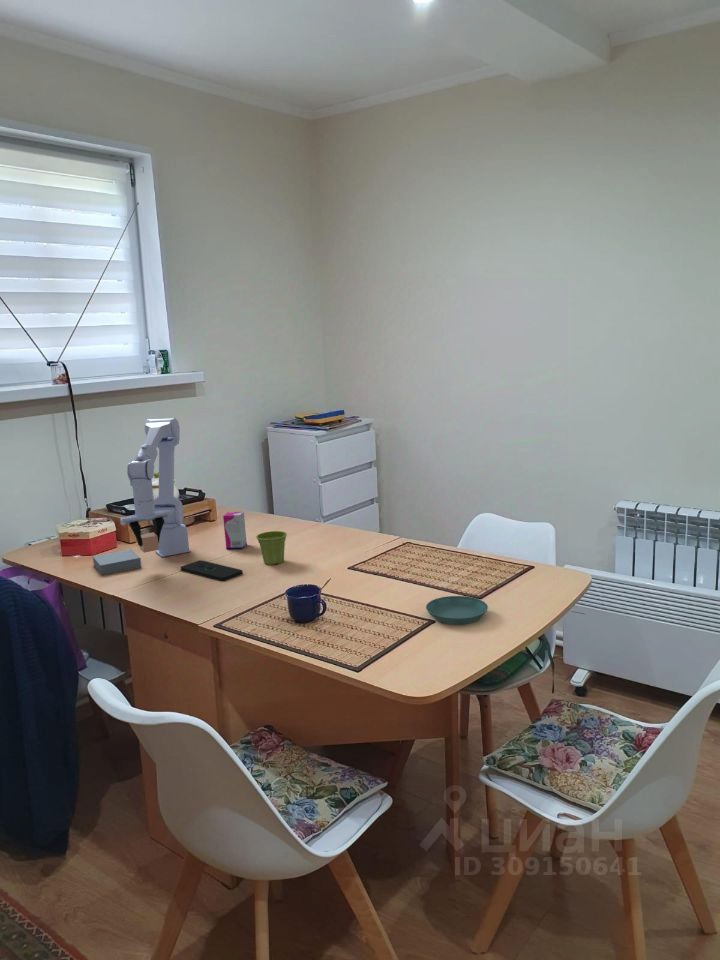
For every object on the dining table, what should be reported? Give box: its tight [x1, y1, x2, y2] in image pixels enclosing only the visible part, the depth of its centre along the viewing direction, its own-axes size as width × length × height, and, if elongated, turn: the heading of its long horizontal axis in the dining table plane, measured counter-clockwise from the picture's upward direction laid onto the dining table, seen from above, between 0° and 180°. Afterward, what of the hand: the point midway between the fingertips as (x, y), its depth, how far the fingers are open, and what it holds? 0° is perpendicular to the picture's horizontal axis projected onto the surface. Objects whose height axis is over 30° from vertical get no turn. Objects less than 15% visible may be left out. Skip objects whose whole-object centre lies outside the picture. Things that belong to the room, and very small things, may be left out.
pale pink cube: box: [139, 531, 159, 554], centre depth 229 cm, size 4×4×4 cm
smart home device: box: [180, 559, 244, 582], centre depth 226 cm, size 8×2×20 cm
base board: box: [92, 548, 142, 576], centre depth 236 cm, size 12×12×3 cm
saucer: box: [425, 595, 489, 626], centre depth 182 cm, size 15×15×3 cm
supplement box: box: [222, 511, 248, 550], centre depth 250 cm, size 6×6×12 cm
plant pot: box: [255, 530, 288, 566], centre depth 231 cm, size 9×9×9 cm
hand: (148, 543), depth 229 cm, fingers closed on pale pink cube, 4 cm apart
